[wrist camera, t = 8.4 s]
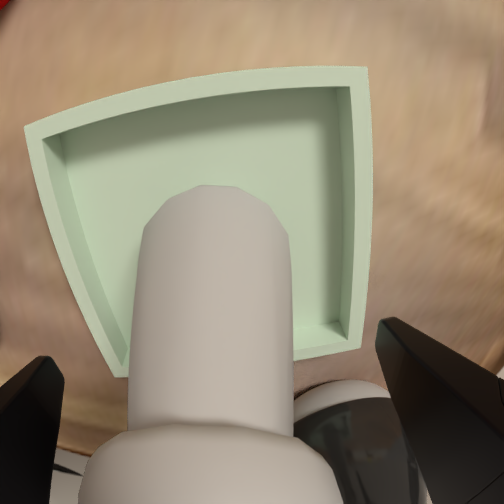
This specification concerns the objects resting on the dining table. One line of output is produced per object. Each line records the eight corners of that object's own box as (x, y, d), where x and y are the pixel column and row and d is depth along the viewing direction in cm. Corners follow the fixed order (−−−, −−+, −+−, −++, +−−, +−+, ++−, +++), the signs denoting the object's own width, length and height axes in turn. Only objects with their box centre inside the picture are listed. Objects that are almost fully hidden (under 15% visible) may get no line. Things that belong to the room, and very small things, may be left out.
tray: (347, 321, 18) (360, 347, 16) (123, 349, 18) (114, 377, 16) (345, 70, 12) (367, 66, 10) (50, 120, 12) (23, 126, 10)
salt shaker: (284, 281, 16) (367, 567, 4) (169, 298, 16) (129, 580, 4) (272, 161, 13) (485, 502, 1) (138, 184, 13) (-62, 492, 1)
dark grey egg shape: (272, 446, 24) (295, 601, 11) (251, 376, 20) (281, 611, 6) (382, 419, 24) (435, 560, 11) (399, 340, 20) (498, 533, 6)
